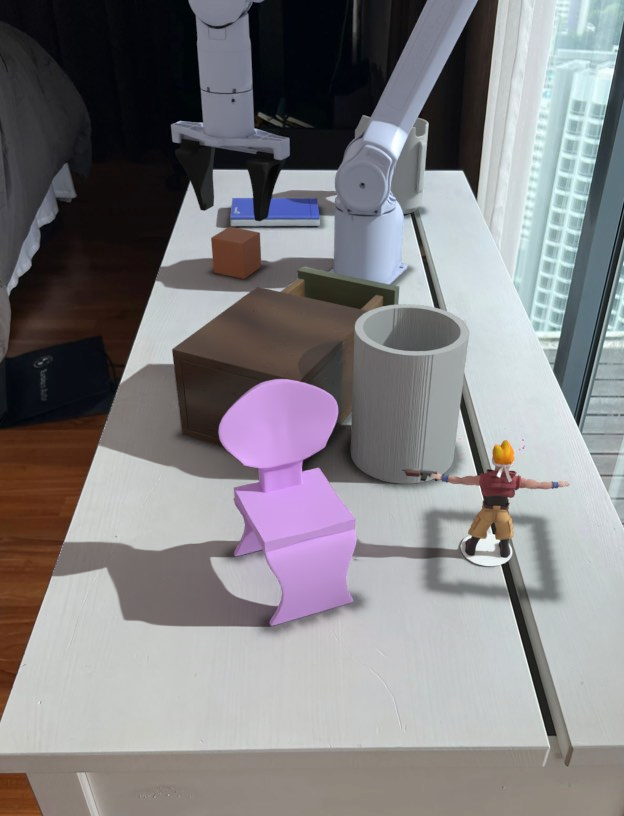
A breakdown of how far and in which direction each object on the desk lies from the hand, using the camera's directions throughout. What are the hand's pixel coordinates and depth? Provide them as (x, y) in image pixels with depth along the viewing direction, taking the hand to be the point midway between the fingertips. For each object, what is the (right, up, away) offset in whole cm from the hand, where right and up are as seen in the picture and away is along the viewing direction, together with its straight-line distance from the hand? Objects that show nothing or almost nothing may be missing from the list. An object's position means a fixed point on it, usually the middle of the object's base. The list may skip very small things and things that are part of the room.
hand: (234, 213), depth 101 cm
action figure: (+23, -40, -37) cm, 59 cm away
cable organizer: (+20, +11, +25) cm, 34 cm away
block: (0, -5, +4) cm, 7 cm away
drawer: (+12, -20, -14) cm, 28 cm away
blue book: (+3, +7, +19) cm, 21 cm away
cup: (+18, -32, -26) cm, 45 cm away
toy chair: (+9, -42, -39) cm, 59 cm away
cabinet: (+7, -27, -22) cm, 36 cm away
